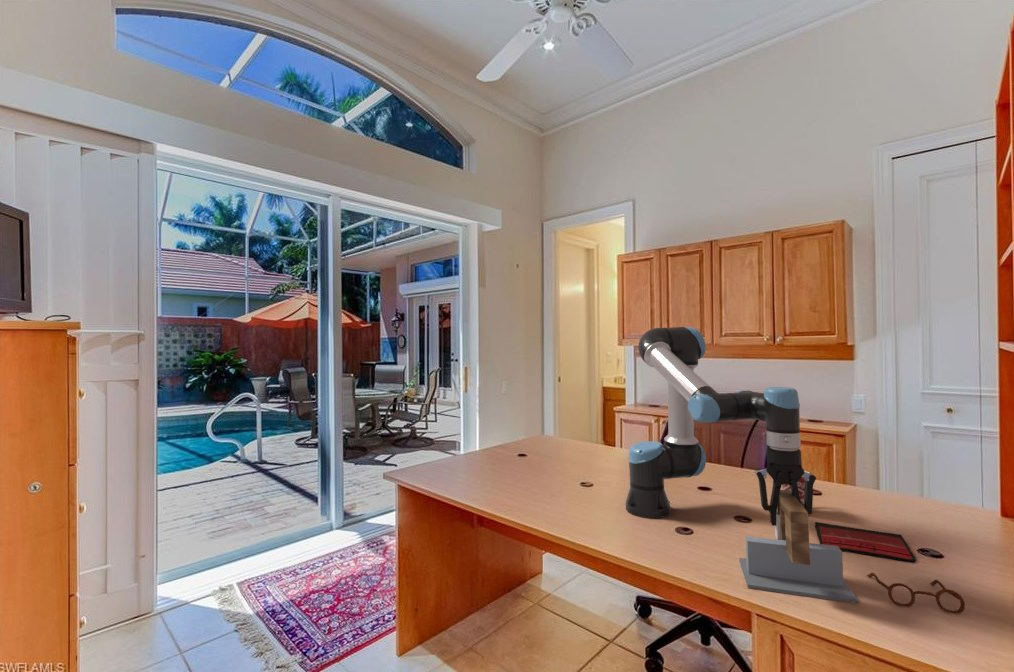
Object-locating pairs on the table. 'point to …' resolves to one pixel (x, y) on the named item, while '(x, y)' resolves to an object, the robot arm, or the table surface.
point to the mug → (800, 488)
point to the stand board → (795, 570)
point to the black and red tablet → (865, 541)
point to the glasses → (923, 594)
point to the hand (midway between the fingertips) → (787, 538)
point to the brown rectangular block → (794, 527)
